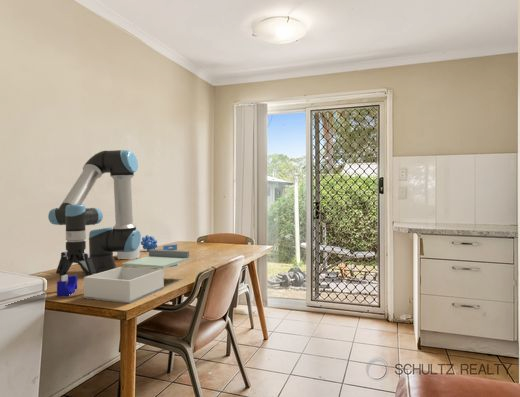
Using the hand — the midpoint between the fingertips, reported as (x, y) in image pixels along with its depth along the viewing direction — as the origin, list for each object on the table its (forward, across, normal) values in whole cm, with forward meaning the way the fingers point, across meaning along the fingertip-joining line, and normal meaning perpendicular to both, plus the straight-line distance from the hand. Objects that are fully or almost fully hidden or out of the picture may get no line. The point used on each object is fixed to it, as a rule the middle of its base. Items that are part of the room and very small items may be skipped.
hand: (76, 291), depth 152 cm
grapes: (0, -37, +101) cm, 108 cm away
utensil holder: (0, -34, +75) cm, 83 cm away
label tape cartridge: (0, +7, +59) cm, 60 cm away
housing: (0, +22, +4) cm, 22 cm away
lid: (-9, +22, +26) cm, 35 cm away
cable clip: (0, -2, -1) cm, 3 cm away
